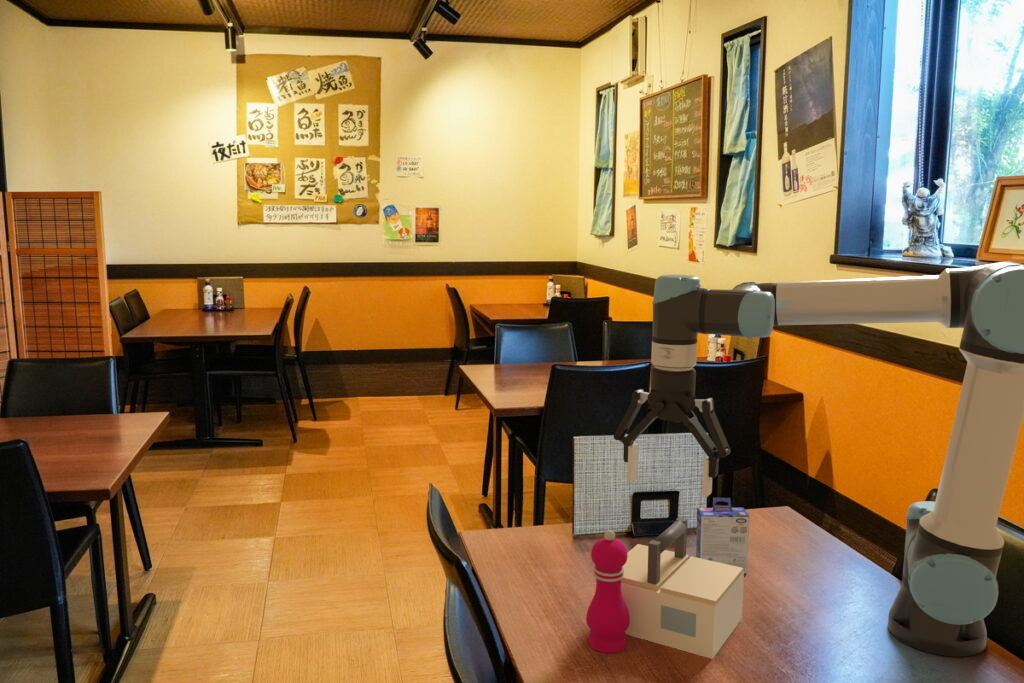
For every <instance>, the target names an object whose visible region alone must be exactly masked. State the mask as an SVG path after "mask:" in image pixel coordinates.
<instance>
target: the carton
mask: <svg viewBox="0 0 1024 683" xmlns="http://www.w3.org/2000/svg"><path fill="white" fill-rule="evenodd" d="M744 577H745V574H744V571H743V568H741V567H737V566H732V565H728V564H723V563H719V562H714V561H710V560H705V559H701V558H696V556H689V559H688V560H687V561H686V562H685V563H684V564H683V565H682V566H681V567H680V568H679V569H678V570H677V571H676V572H675V573H674V574H673V575H672V576H671V577H670V578H669V579H668V580H667V581H666V582H665V583H664V584H663V585H662V586H661V587H660V589H659V590H658V591H657V590H653V589H649V588H645V587H641V586H637V585H633V584H629V583H625V582H621V591H622V595H623V598H624V601H625V603H626V606H627V608H628V612H629V618H630V624H629V627H628V628H627V630H626V631H625V633H626V636H631V637H634V638H637V639H641V640H644V639H645V640H644V641H647V640H648V642H650V643H655V644H659V645H661V646H664V647H665V646H666V647H668V646H669V648H672V649H675V648H676V650H680V651H683V652H686V653H690V654H692V655H693V654H694V655H696V656H700V657H703V658H708V659H711V660H713V659H714V658H715V657H716V655H717V654H718V653H719V651H720V650H721V648H722V647H723V646H724V644H725V643H726V641H727V640H728V639H729V637H730V636H731V635H732V633H733V632H734V630H735V629H736V628H737V626H738V625H739V623H741V621H742V619H743V604H744V602H743V600H744V583H745V581H744V580H745V578H744Z"/></svg>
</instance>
